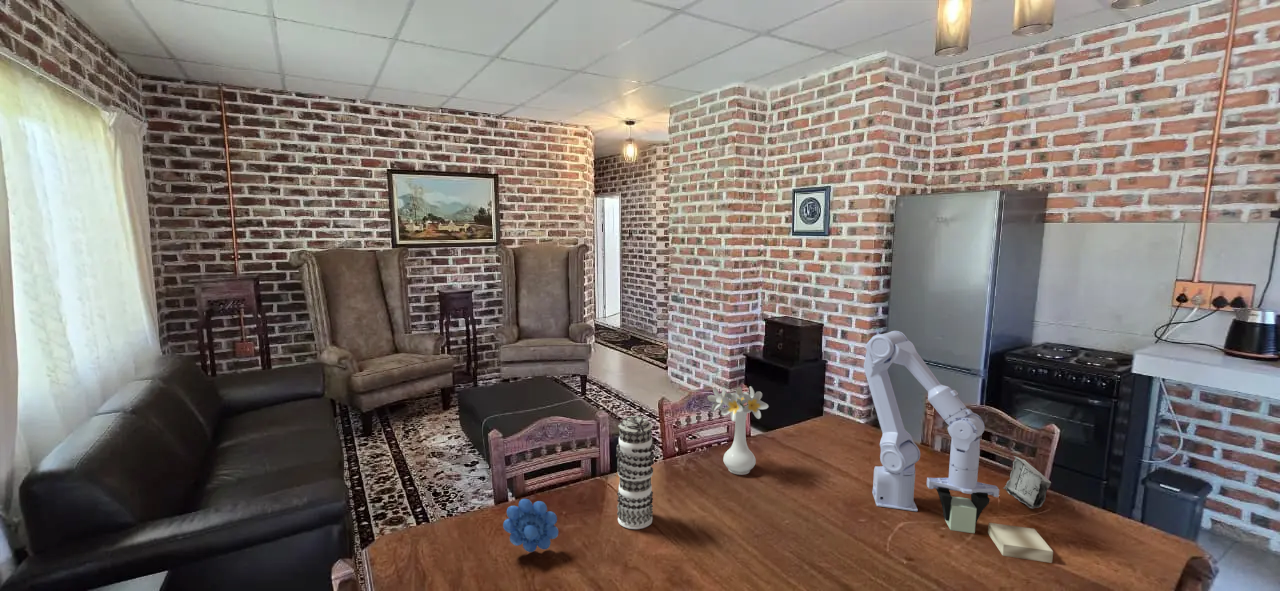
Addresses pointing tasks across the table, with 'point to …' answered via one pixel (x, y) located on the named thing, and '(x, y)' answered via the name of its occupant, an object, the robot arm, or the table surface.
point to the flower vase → (738, 425)
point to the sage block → (962, 515)
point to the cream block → (1020, 542)
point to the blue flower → (531, 525)
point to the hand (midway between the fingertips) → (959, 520)
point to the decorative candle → (635, 473)
